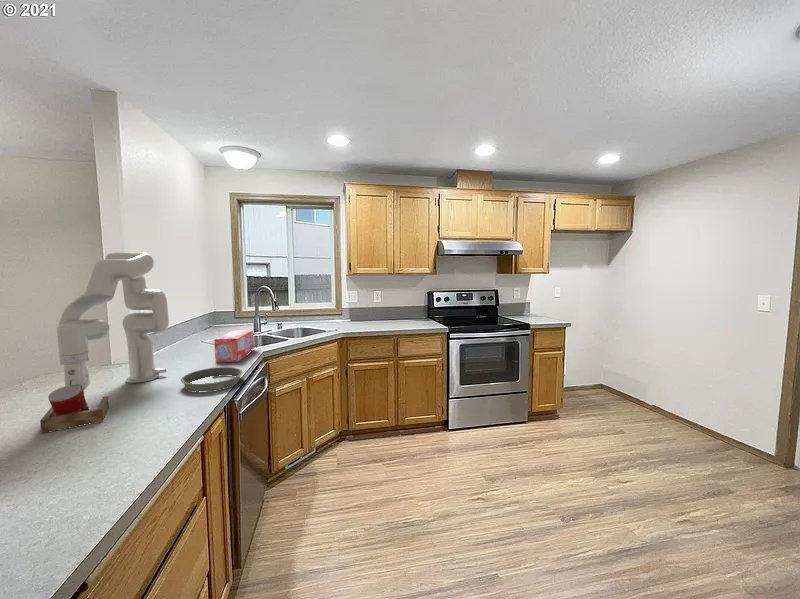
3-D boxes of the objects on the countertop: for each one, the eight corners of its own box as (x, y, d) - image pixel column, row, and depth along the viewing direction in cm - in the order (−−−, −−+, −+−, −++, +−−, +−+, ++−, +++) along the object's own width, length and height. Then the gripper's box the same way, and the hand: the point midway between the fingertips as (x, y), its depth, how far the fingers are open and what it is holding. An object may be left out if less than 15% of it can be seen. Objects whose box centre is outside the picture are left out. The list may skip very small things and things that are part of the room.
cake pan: (236, 391, 145) (236, 381, 145) (171, 396, 139) (171, 386, 139) (247, 373, 169) (247, 365, 168) (192, 377, 163) (192, 368, 163)
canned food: (92, 417, 118) (82, 392, 114) (61, 429, 112) (49, 403, 108) (87, 406, 123) (78, 381, 118) (57, 417, 117) (46, 392, 112)
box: (233, 350, 213) (232, 329, 211) (254, 350, 214) (253, 329, 213) (214, 363, 186) (213, 338, 185) (238, 362, 187) (237, 338, 186)
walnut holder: (109, 407, 128) (108, 396, 128) (103, 421, 117) (102, 409, 116) (54, 417, 120) (52, 405, 119) (41, 433, 108) (40, 420, 108)
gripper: (84, 361, 116) (88, 412, 117) (92, 352, 128) (96, 399, 130) (53, 364, 111) (58, 418, 113) (65, 354, 124) (70, 403, 125)
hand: (79, 407), depth 121 cm, fingers closed
